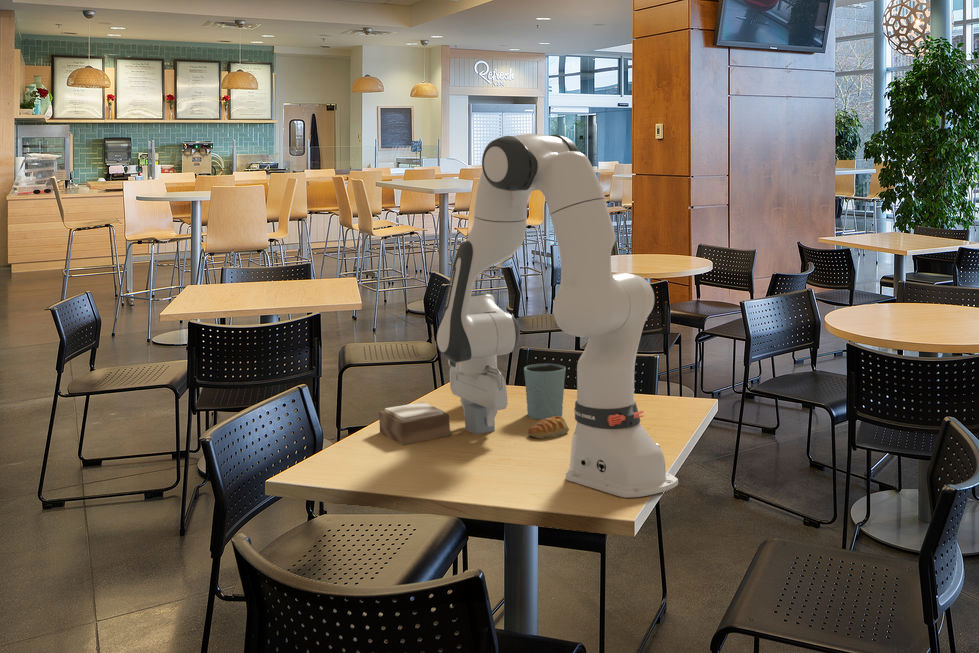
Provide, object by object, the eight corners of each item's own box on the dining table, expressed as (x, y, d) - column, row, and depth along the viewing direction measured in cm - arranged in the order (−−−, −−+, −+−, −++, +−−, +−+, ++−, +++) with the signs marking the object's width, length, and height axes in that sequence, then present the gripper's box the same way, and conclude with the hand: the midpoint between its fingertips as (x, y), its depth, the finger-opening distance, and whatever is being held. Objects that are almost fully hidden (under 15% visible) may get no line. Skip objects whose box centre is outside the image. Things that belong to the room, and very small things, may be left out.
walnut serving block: (449, 435, 204) (449, 411, 203) (402, 444, 198) (401, 419, 197) (425, 424, 214) (424, 400, 213) (379, 432, 208) (378, 408, 207)
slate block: (494, 430, 207) (494, 405, 206) (476, 434, 205) (475, 409, 204) (483, 426, 211) (483, 401, 210) (465, 429, 209) (464, 404, 208)
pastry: (542, 442, 198) (541, 425, 197) (521, 436, 203) (520, 420, 202) (571, 433, 204) (571, 417, 204) (550, 428, 209) (550, 412, 209)
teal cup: (521, 419, 216) (521, 371, 214) (527, 409, 226) (526, 362, 224) (563, 420, 214) (563, 372, 212) (567, 410, 224) (567, 363, 222)
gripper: (513, 368, 198) (514, 428, 200) (467, 354, 215) (468, 409, 218) (489, 372, 195) (490, 433, 197) (444, 357, 212) (446, 413, 214)
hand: (478, 420), depth 208 cm, fingers open, 8 cm apart
